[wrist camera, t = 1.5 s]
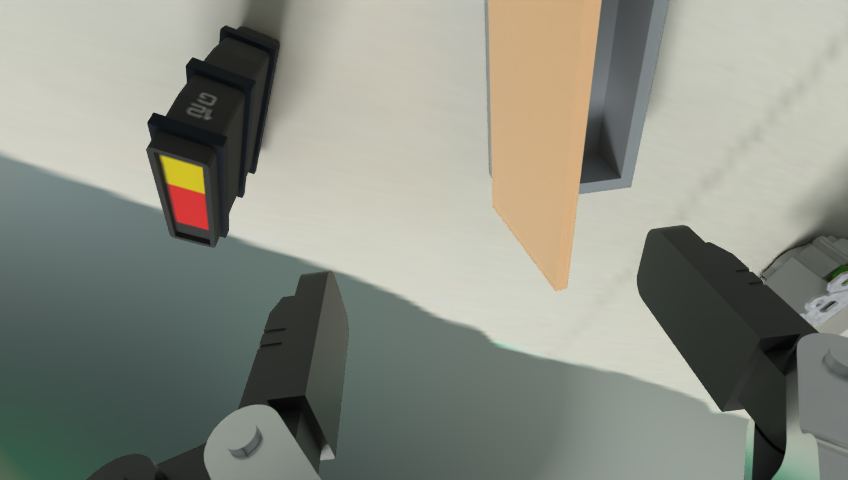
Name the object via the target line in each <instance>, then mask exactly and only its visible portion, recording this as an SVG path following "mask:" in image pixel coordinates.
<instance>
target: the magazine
mask: <svg viewBox="0 0 848 480" xmlns="http://www.w3.org/2000/svg"><path fill="white" fill-rule="evenodd" d="M279 47H280V44H279V42H278V41H277V40H276V39H273V38H271V37H268V36H266V35H263V34H261V33H258V32H256V31H253V30H251V29H248V28H246V27H239V28H238V29H237V30H236V29H234V28H231V27H229V26H224V27H222V28H221V30H220V41H219V44H218V45H217V46H216V47H215V48H214V49H213V50H212V51H211V53H210V54H209V55H208V56H207V58H206V59H205V60H204V61H201V60H199V59H196V58H191V60H190V61H189V62H188V64H187V65H186V76H187V84H186V85H185V87H184V88H183V89H182V91H181V92H180V93H179V95H178V96H177V98H176V100H175V101H174V103H173V105H172V106H171V108H170V110H169V111H168V113H167V115H166V116H163V115H160V114H157V113H153V114H152V116H151V118H150V119H149V121H148V122H147V124H148V128H149V132H150V136H151V142H150V144H149V146H148V147H147V149H146V151H147V154H148V158H149V162H150V165H151V169H152V172H153V176H154V180H155V183H156V187H157V190H158V194H159V197H160V201H161V205H162V208H163V212H164V215H165V219H166V222H167V226H168V230H169V233H170V235H171V236H172V237H174V238H177V239H181V240H185V241H189V242H193V243H197V244H200V245H204V246H208V247H215V246H216V244H217V241H218V239H219V237H224V238H226V236H227V234H228V231H229V212H230V210H231V207H232V205H233V203H234V201H235V199H236V196H237V197H241V198H242V197H243V196H244V193H245V183H246V176H247V174H248V172H249V173H252V174H254V173H255V172H256V168H257V163H258V157H259V152H260V147H261V142H262V136H263V131H264V126H265V120H266V115H267V110H268V104H269V99H270V94H271V88H272V83H273V78H274V72H275V67H276V62H277V57H278V52H279Z"/></svg>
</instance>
